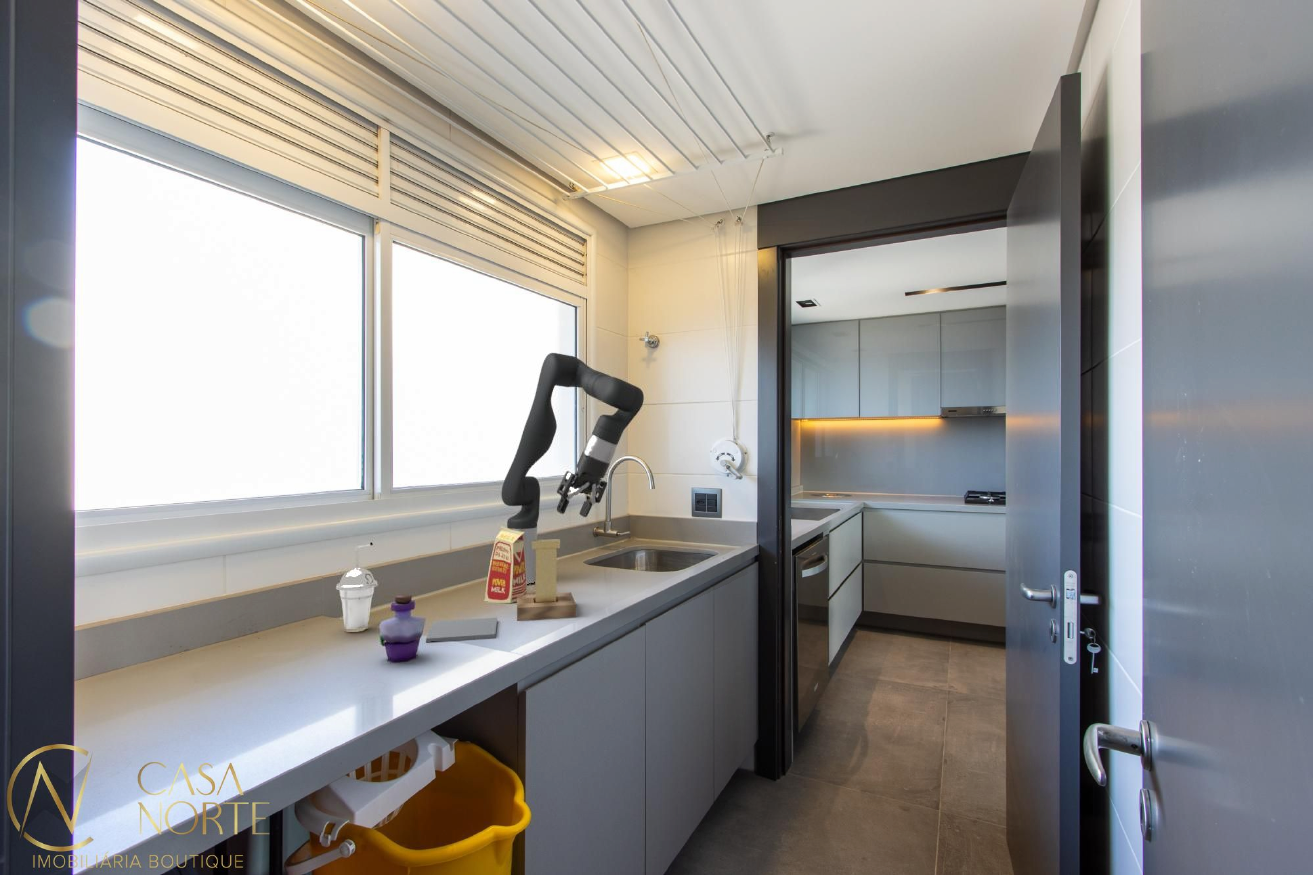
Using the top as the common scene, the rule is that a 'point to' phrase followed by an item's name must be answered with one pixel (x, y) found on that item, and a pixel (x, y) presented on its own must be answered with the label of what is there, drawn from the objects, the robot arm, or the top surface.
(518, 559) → the milk carton
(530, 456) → the robot arm
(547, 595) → the pale yellow tall block
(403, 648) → the potion bottle
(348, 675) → the top surface
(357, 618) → the cup with straw
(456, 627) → the slate mat
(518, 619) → the socket block
